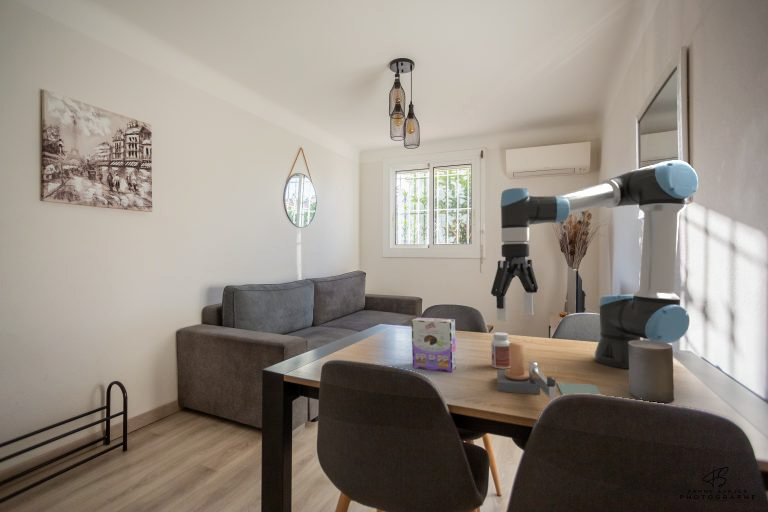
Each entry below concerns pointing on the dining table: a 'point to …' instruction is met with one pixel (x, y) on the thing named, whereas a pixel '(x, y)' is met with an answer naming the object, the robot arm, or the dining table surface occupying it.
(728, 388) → the dining table surface
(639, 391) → the pillar candle
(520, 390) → the socket
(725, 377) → the dining table surface
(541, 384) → the clip
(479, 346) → the dining table surface
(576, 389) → the mat
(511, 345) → the plug
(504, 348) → the pill bottle
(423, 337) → the candy box
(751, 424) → the dining table surface
